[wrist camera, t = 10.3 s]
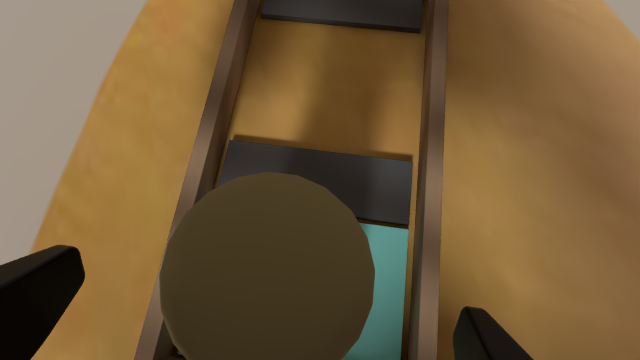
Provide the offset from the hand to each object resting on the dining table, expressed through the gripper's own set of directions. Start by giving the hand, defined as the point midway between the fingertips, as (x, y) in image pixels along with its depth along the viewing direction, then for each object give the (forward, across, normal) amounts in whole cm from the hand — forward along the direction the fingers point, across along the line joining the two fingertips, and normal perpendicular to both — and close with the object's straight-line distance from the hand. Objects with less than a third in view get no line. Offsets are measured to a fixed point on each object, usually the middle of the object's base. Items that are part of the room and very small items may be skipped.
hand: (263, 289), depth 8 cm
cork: (+8, 0, +7) cm, 10 cm away
